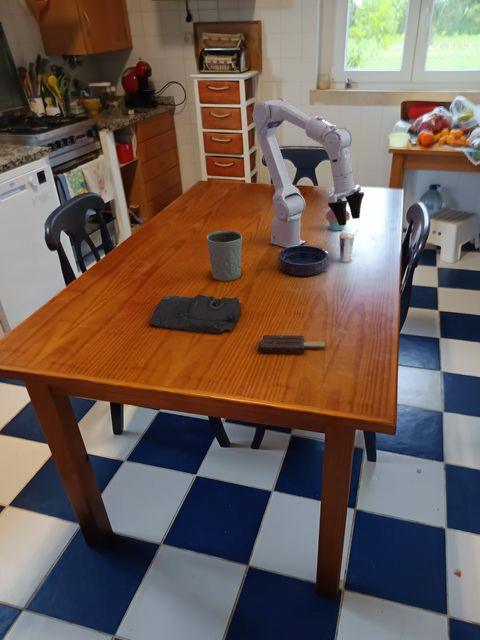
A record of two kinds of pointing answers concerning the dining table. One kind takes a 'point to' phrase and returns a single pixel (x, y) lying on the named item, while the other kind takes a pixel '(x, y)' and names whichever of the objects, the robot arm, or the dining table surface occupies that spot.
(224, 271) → the grey green cup
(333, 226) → the cupcake
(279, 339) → the ice cream bar
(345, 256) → the milkshake
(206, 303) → the black snap pouch
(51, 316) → the dining table surface
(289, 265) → the bowl
